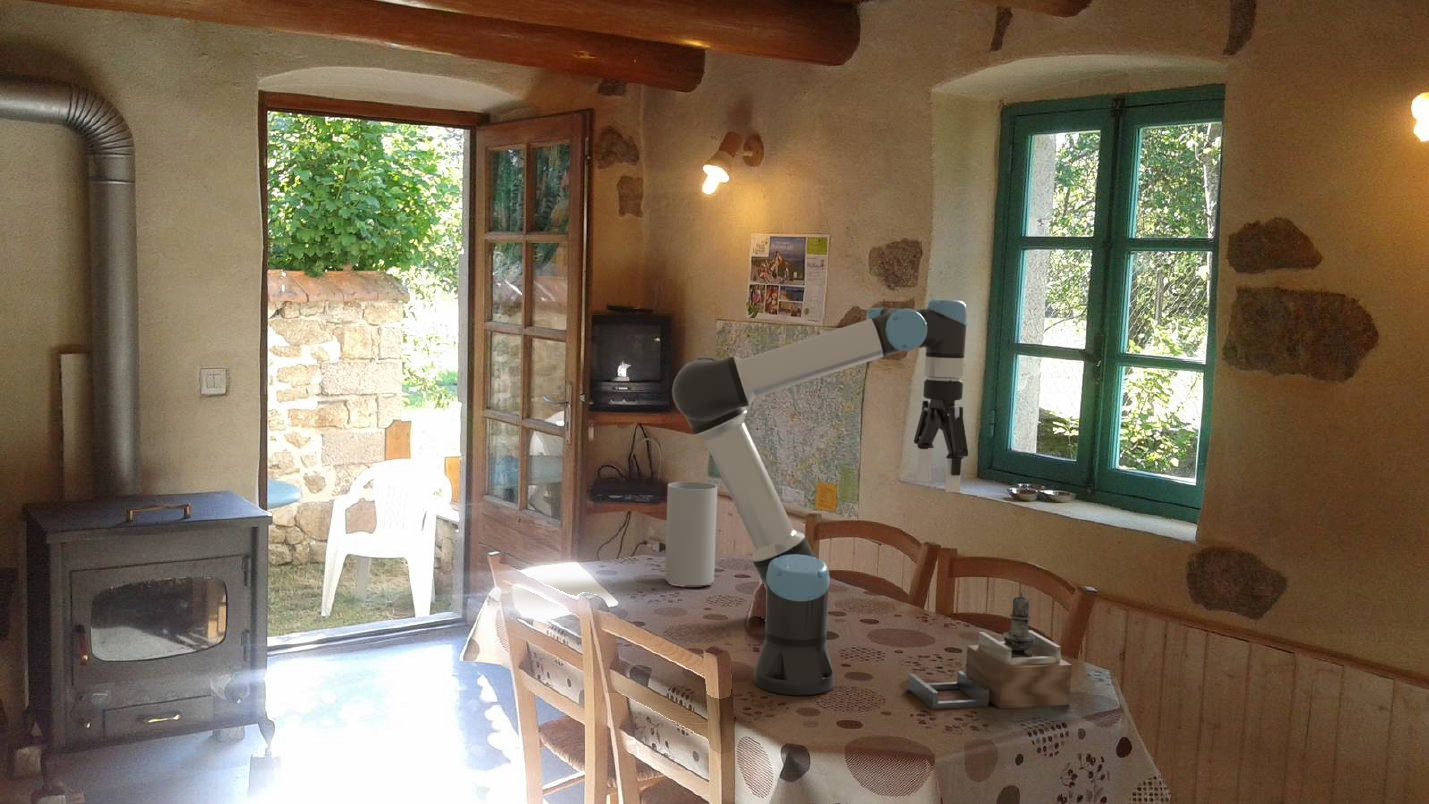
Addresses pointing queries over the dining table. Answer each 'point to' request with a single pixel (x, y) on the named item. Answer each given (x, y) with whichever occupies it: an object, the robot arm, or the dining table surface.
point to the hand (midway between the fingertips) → (937, 486)
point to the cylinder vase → (690, 533)
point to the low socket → (963, 683)
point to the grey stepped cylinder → (1019, 629)
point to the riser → (1020, 673)
